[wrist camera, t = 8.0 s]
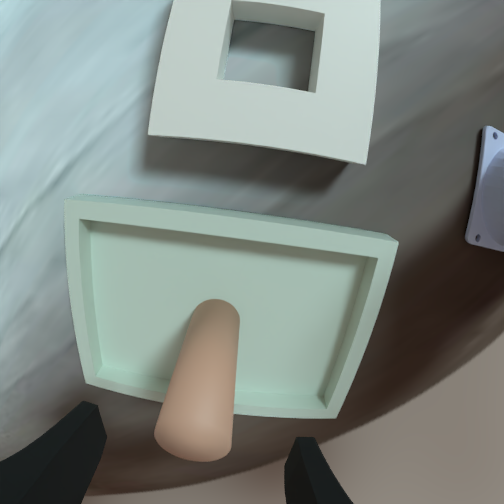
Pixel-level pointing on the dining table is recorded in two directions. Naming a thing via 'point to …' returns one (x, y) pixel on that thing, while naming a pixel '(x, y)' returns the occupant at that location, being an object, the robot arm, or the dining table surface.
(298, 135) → the socket block
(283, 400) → the tray
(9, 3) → the dining table surface
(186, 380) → the dowel
